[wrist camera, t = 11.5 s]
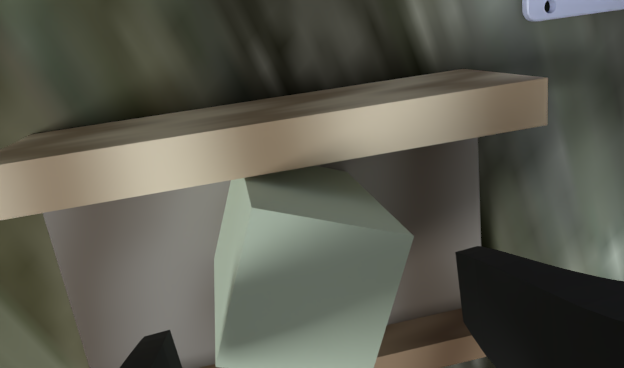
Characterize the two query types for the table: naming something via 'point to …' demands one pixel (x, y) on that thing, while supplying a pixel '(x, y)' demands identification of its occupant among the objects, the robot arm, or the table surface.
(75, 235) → the cleat board
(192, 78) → the table surface
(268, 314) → the green block
